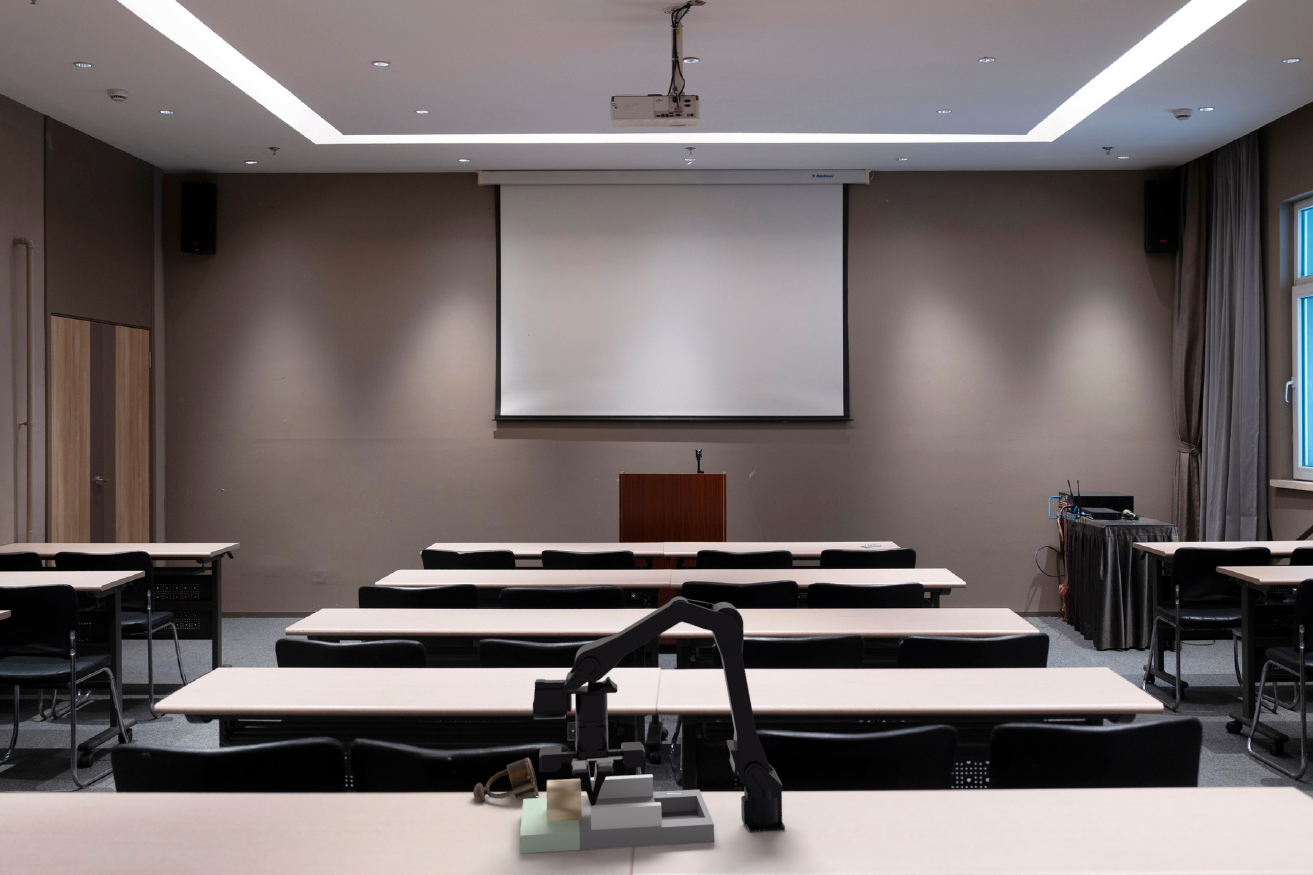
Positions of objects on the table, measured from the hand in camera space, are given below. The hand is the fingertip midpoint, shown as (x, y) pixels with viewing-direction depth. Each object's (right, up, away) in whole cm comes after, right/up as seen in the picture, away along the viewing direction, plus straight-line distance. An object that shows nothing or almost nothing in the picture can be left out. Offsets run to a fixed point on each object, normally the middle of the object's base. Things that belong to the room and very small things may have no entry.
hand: (592, 804), depth 159 cm
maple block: (-5, -1, -1) cm, 5 cm away
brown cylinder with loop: (-18, -5, +17) cm, 25 cm away
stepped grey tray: (+4, -4, 0) cm, 6 cm away
